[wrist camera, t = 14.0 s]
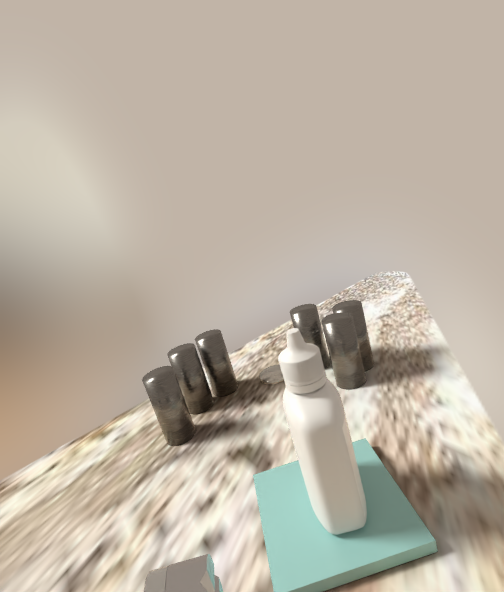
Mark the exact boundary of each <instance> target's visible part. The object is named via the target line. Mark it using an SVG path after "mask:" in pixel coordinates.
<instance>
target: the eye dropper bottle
mask: <svg viewBox="0 0 504 592" xmlns="http://www.w3.org/2000/svg"><path fill="white" fill-rule="evenodd" d="M278 360H279V364H280V367H281V371H282V374H283V378H284V381H285V385H286V388H285V391H284V394H283V407H284V412H285V416H286V419H287V423H288V426H289V430H290V433H291V437H292V440H293V444H294V447H295V451H296V454H297V457H298V461H299V464H300V468H301V471H302V475H303V478H304V482H305V485H306V488H307V492H308V495H309V499H310V502H311V505H312V508H313V510H314V513H315V515H316V516H317V518H318V520H319V521H320V523H321V524H322V525H323V527H324V528H325V529H326V530H327V531H328V532H329V533H331V534H333V535H338V534H342V533H346V532H350V531H354V530H357V529H360V528H362V527H364V525H365V523H366V518H367V507H366V499H365V494H364V490H363V486H362V482H361V478H360V474H359V469H358V465H357V461H356V457H355V453H354V449H353V445H352V440H351V436H350V432H349V428H348V424H347V420H346V416H345V412H344V407H343V404H342V400H341V397H340V395H339V393H338V391H337V389H336V388H335V386H334V385H333V384H332V383H331V382H330V381H329V380H328V379H327V377H326V373H325V369H324V365H323V361H322V357H321V353H320V349H319V348H318V346H316V345H314V344H311V343H306V342H305V341H304V339H303V337H302V335H301V333H300V331H299V329H298V328H292V329H289V330H288V331H287V348H286V349H284V350H283V351H282V352H281V353H280V355H279V356H278Z"/></svg>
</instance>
